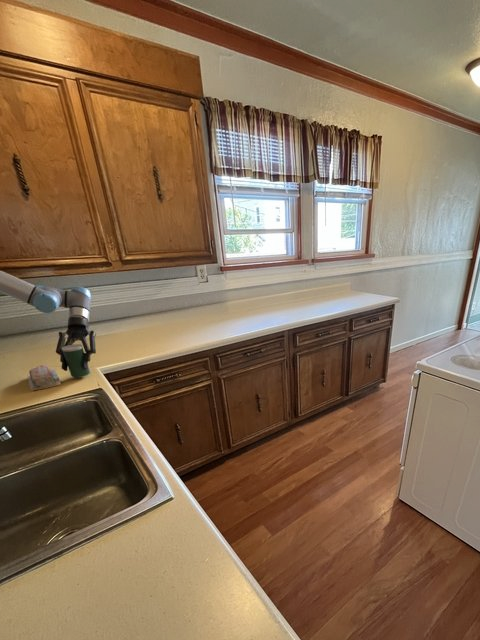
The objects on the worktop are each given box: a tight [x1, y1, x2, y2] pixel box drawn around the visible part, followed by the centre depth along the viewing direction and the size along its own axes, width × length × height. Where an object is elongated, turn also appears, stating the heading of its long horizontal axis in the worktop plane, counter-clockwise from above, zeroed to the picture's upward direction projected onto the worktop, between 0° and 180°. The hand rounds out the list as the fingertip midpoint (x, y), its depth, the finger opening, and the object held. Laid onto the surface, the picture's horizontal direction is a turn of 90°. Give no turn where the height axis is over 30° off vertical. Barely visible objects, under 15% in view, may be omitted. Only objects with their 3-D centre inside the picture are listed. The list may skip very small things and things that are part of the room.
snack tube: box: [62, 343, 91, 378], centre depth 136 cm, size 7×7×12 cm
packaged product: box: [26, 364, 61, 392], centre depth 134 cm, size 18×5×10 cm
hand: (74, 368), depth 134 cm, fingers closed on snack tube, 7 cm apart
